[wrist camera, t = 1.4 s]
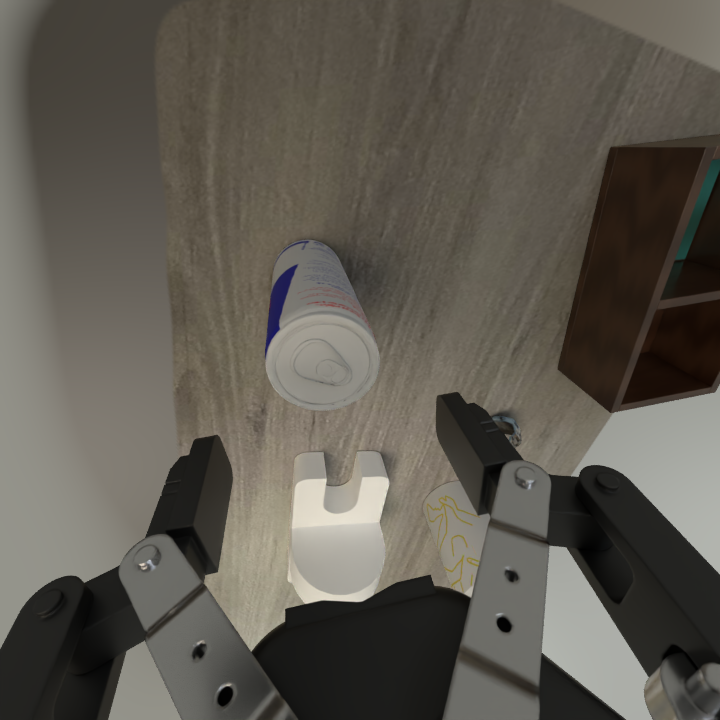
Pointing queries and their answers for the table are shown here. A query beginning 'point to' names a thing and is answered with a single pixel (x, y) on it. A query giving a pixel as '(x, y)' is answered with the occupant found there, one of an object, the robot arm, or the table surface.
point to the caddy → (650, 278)
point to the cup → (456, 533)
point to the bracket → (336, 529)
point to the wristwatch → (509, 429)
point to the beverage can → (317, 331)
